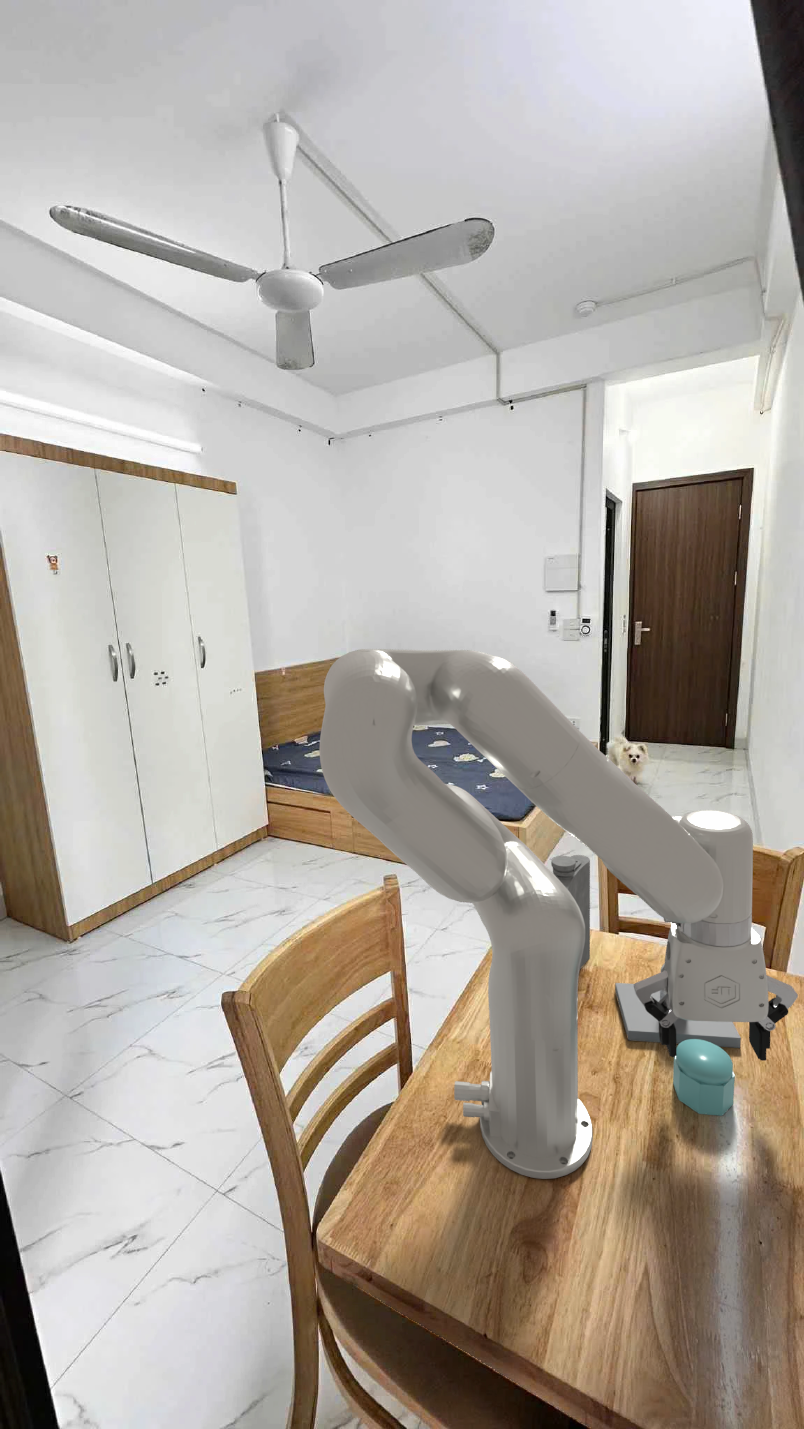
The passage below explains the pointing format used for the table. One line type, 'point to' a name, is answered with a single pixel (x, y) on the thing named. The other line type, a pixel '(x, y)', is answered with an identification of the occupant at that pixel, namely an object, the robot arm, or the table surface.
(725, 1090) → the cap
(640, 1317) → the table surface
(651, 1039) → the stud base
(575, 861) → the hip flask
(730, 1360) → the table surface
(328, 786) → the robot arm
